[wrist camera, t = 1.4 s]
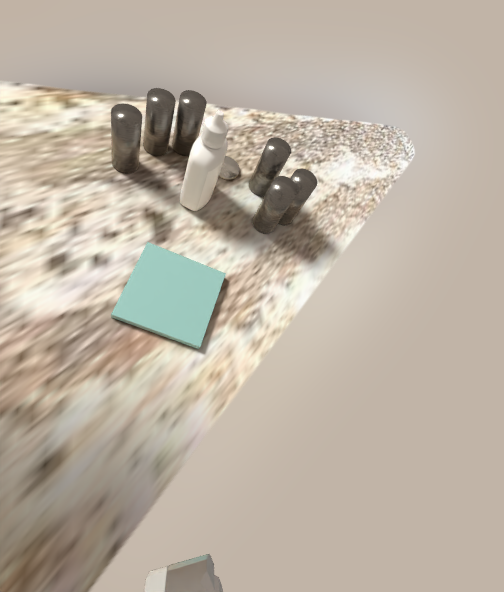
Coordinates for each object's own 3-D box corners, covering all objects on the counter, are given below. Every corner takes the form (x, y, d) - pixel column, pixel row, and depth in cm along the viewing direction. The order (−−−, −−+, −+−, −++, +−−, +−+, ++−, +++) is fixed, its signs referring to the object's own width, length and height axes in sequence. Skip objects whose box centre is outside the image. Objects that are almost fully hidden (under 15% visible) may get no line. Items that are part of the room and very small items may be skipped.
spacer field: (107, 166, 43) (106, 116, 37) (139, 117, 48) (143, 66, 42) (286, 243, 47) (311, 209, 41) (300, 191, 51) (324, 153, 45)
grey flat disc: (212, 179, 48) (213, 174, 47) (211, 158, 49) (212, 153, 49) (238, 183, 49) (240, 179, 48) (237, 162, 50) (238, 158, 50)
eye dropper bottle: (224, 200, 47) (255, 122, 36) (187, 216, 44) (209, 136, 34) (204, 174, 47) (229, 91, 37) (167, 188, 44) (182, 102, 34)
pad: (111, 317, 36) (111, 314, 35) (147, 246, 40) (147, 242, 40) (198, 349, 37) (200, 346, 37) (223, 276, 42) (225, 273, 41)
